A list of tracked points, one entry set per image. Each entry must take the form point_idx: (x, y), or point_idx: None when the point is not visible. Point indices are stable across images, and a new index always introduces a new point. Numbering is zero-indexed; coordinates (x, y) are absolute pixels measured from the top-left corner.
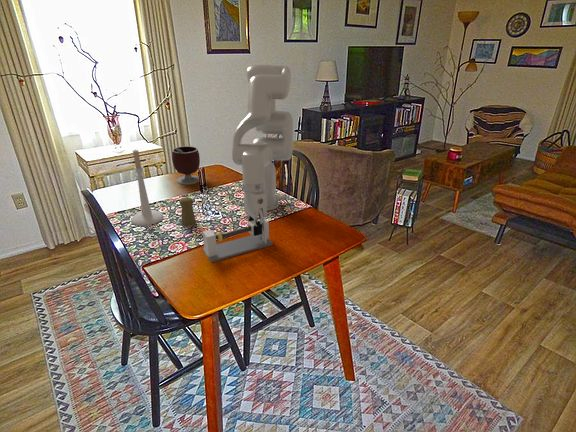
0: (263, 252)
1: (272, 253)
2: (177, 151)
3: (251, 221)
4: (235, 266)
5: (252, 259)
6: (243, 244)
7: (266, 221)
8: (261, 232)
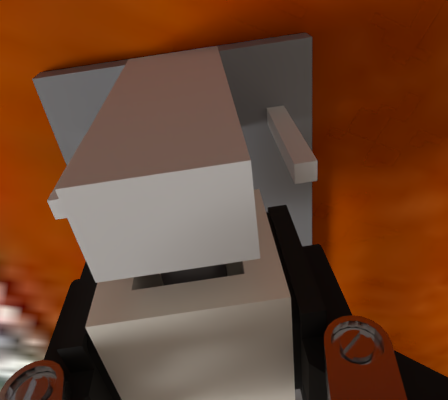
0: (379, 162)
1: (443, 95)
2: None
3: (142, 397)
4: (412, 338)
5: (412, 253)
6: None
7: (224, 203)
8: (290, 223)
